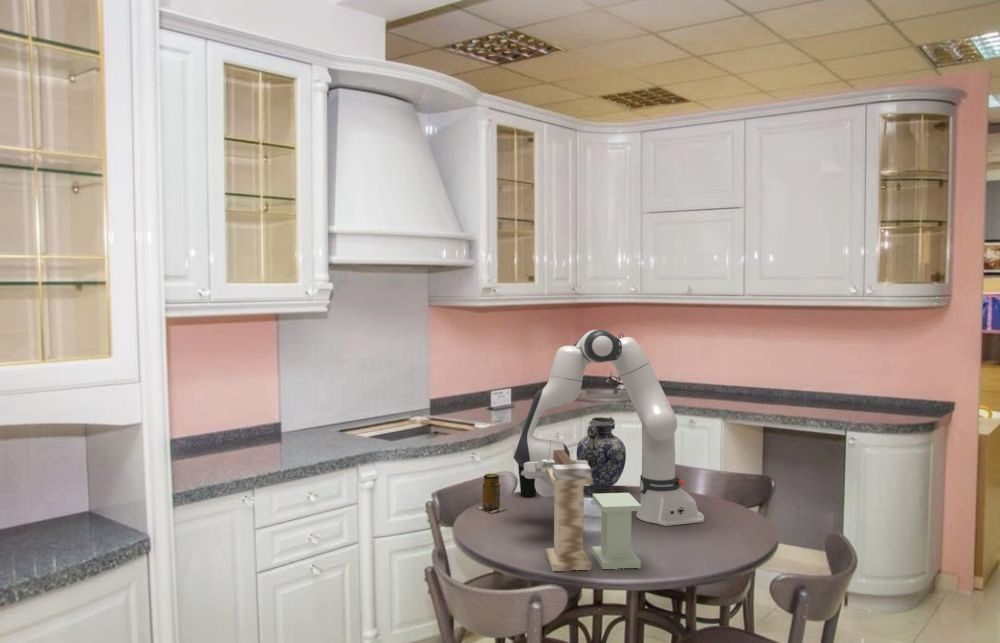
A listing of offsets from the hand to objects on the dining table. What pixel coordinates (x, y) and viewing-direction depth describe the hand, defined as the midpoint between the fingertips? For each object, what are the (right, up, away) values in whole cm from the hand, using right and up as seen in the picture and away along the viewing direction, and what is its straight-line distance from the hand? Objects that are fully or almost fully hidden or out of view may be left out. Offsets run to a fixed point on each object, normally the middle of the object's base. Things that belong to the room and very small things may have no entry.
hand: (559, 462), depth 238 cm
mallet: (+1, 0, -9) cm, 9 cm away
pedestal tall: (+2, -27, -12) cm, 30 cm away
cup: (-7, -22, +54) cm, 59 cm away
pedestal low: (+15, -27, -11) cm, 33 cm away
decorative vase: (+20, -22, +60) cm, 67 cm away
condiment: (-21, -24, +38) cm, 49 cm away
